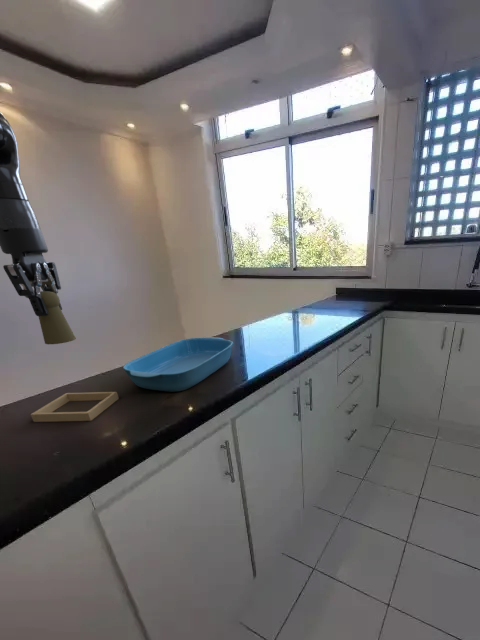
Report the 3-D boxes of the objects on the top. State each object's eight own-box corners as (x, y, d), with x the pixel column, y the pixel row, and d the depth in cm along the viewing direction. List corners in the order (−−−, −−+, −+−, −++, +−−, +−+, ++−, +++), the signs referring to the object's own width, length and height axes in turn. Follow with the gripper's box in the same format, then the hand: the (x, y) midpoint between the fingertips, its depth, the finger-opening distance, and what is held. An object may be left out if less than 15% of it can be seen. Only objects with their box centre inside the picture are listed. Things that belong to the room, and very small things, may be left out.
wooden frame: (35, 425, 71) (30, 414, 70) (69, 402, 82) (65, 392, 81) (92, 423, 71) (88, 413, 70) (119, 401, 81) (116, 391, 80)
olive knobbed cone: (74, 336, 76) (57, 289, 72) (77, 340, 72) (59, 291, 67) (44, 341, 73) (24, 292, 68) (45, 346, 69) (24, 294, 64)
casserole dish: (180, 402, 79) (174, 376, 76) (112, 394, 86) (104, 370, 82) (245, 357, 111) (243, 337, 107) (192, 353, 117) (188, 335, 114)
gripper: (19, 230, 68) (49, 309, 76) (-33, 225, 55) (10, 320, 63) (56, 229, 69) (82, 307, 77) (13, 224, 56) (50, 318, 64)
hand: (49, 312), depth 70 cm, fingers closed on olive knobbed cone, 5 cm apart
